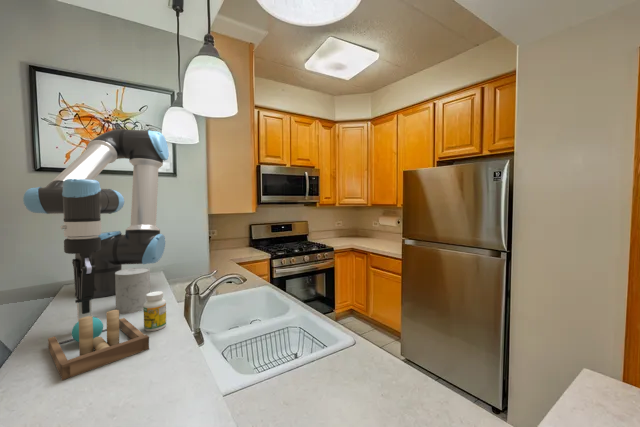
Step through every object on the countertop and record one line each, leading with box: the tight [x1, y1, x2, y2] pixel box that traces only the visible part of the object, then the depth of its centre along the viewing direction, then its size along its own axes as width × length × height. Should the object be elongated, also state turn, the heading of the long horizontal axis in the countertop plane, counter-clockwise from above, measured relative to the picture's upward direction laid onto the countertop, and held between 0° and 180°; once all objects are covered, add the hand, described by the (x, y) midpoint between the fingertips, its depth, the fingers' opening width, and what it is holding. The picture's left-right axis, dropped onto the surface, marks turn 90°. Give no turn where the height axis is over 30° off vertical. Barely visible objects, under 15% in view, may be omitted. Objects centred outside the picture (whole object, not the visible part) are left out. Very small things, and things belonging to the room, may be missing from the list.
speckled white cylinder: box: [115, 267, 151, 315], centre depth 90 cm, size 10×10×12 cm
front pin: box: [93, 336, 110, 351], centre depth 63 cm, size 2×2×8 cm
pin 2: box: [105, 309, 120, 346], centre depth 66 cm, size 2×2×8 cm
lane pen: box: [47, 317, 150, 381], centre depth 65 cm, size 18×15×3 cm
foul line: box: [58, 328, 107, 345], centre depth 71 cm, size 1×13×1 cm, turn 141°
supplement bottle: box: [143, 290, 167, 332], centre depth 76 cm, size 5×5×10 cm
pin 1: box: [78, 315, 94, 356], centre depth 62 cm, size 2×2×8 cm
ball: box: [71, 316, 104, 343], centre depth 68 cm, size 6×6×6 cm
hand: (84, 323), depth 74 cm, fingers closed
